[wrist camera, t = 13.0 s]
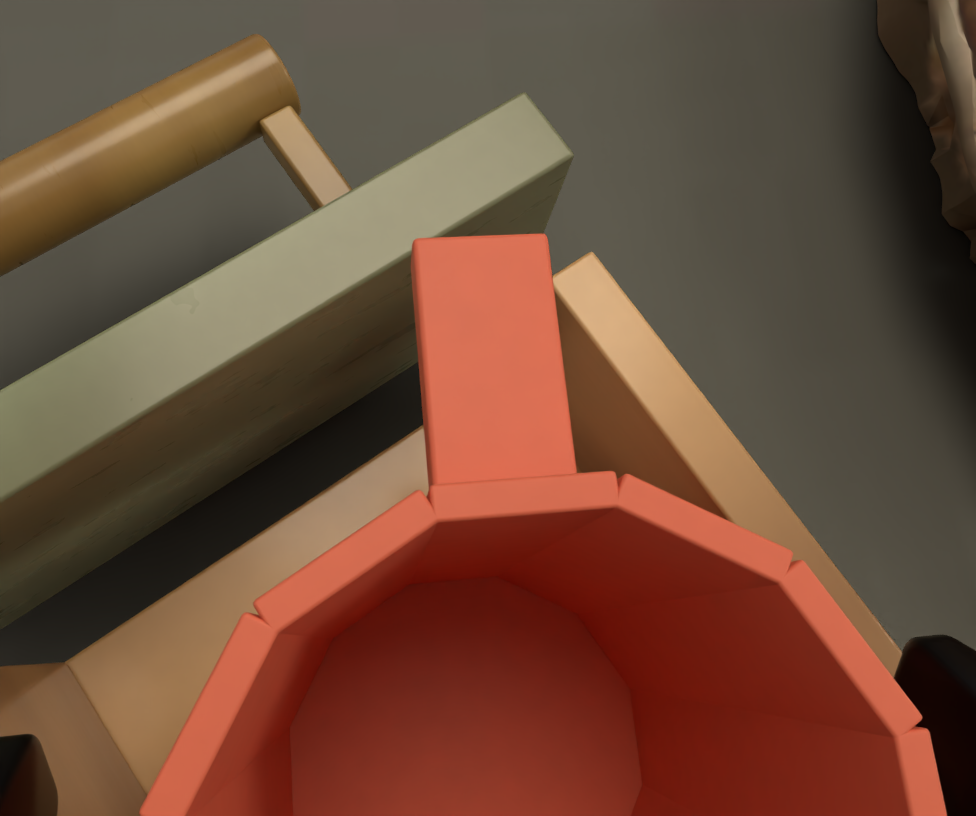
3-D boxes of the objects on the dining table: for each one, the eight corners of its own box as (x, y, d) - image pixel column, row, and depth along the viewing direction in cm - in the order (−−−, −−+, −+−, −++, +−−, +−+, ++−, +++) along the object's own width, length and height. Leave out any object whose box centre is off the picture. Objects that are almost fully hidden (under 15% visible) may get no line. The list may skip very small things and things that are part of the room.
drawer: (-183, 389, 15) (-465, 263, 10) (365, 92, 18) (359, -122, 13) (396, 1369, 12) (405, 1849, 8) (931, 847, 15) (1200, 948, 10)
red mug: (670, 929, 13) (1055, 1314, 6) (283, 988, 13) (130, 1526, 5) (599, 407, 15) (813, 175, 8) (263, 429, 15) (133, 196, 7)
